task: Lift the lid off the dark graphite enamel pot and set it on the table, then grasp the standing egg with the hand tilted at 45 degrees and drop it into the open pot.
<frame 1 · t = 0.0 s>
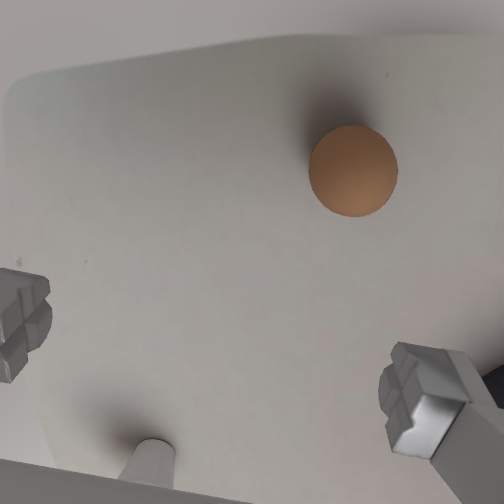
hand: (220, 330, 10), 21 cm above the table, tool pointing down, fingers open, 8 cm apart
ice cream cone: (157, 449, 45), on the table
egg: (343, 153, 28), on the table
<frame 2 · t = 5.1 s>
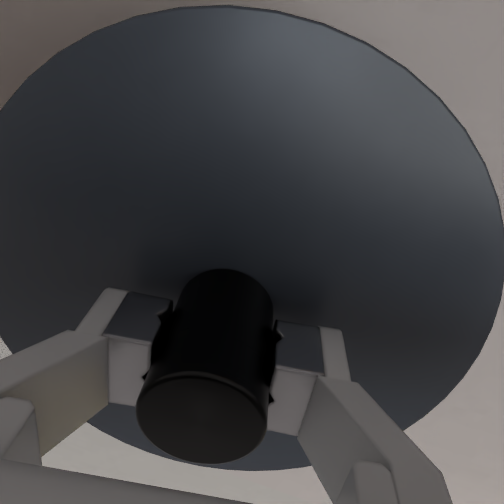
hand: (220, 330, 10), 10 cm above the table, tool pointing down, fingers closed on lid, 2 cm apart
lid: (229, 294, 11), point 9 cm above the table, touching gripper, pot
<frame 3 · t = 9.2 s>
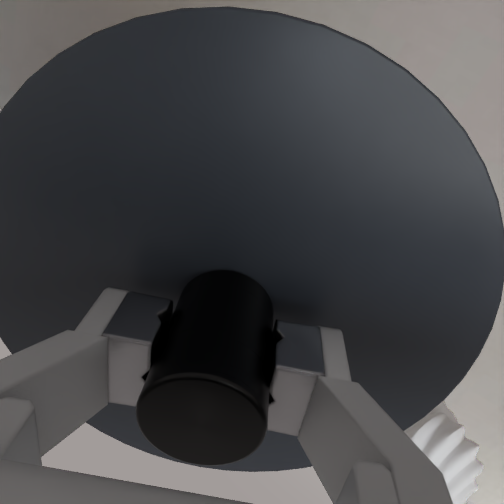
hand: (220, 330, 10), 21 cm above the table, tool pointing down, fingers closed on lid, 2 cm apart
lid: (229, 295, 11), point 20 cm above the table, touching gripper
ice cream cone: (379, 347, 36), on the table
when the fingers open (2 cm above the table, at t = 13.5 s): lid stays where it is, point 1 cm above the table.
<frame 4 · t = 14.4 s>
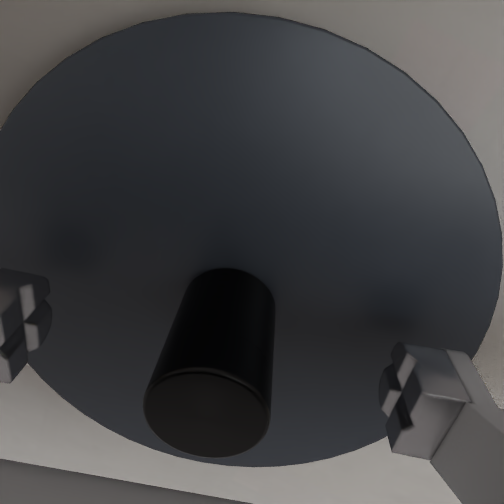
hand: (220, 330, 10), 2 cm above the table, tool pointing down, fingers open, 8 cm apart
lid: (232, 293, 11), point 1 cm above the table
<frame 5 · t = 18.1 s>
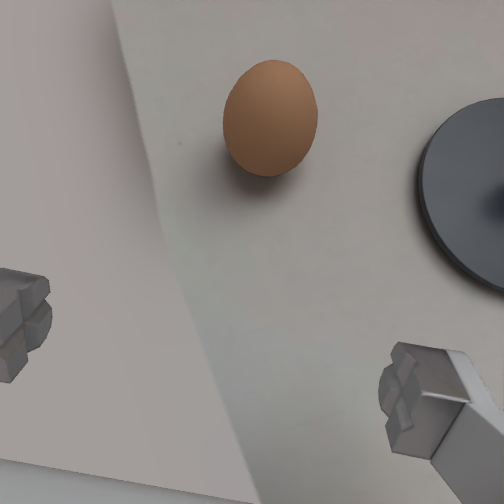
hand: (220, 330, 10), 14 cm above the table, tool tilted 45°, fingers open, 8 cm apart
egg: (264, 157, 26), on the table
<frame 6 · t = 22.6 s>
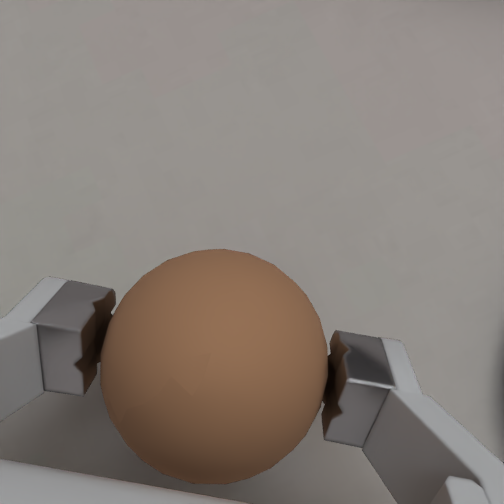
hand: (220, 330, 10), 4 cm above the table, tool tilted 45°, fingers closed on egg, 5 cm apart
egg: (219, 362, 14), on the table, touching gripper
when the fingers open (10 cm above the table, at t = 31.1 s): egg drops 5 cm, resting on pot.
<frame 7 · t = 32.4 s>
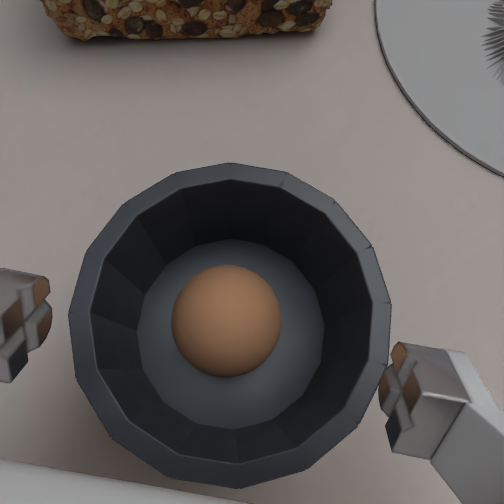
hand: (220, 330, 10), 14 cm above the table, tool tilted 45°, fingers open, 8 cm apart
pot: (231, 329, 23), on the table
egg: (226, 328, 23), resting on pot
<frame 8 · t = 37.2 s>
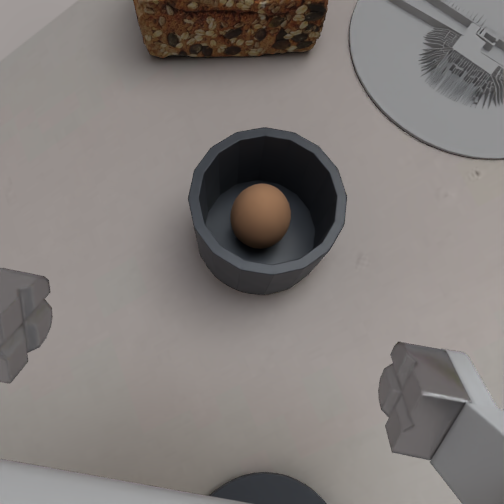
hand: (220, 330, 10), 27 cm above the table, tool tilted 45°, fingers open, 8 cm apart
bread: (229, 24, 46), on the table
plate: (467, 51, 47), on the table
pot: (259, 232, 39), on the table
egg: (257, 231, 39), resting on pot
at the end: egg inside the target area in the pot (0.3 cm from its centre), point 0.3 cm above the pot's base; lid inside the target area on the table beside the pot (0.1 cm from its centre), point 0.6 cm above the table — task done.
